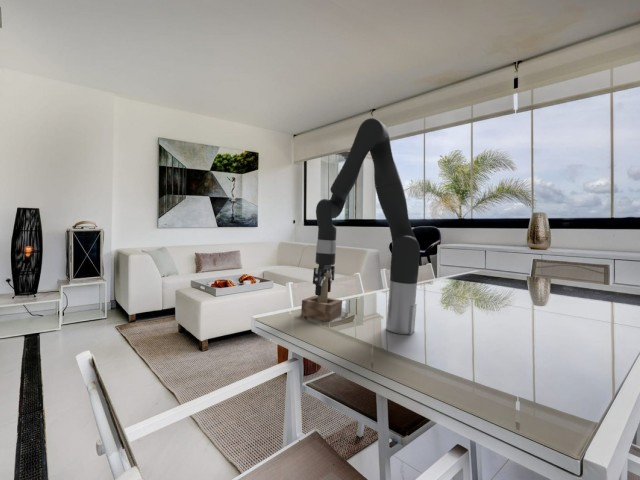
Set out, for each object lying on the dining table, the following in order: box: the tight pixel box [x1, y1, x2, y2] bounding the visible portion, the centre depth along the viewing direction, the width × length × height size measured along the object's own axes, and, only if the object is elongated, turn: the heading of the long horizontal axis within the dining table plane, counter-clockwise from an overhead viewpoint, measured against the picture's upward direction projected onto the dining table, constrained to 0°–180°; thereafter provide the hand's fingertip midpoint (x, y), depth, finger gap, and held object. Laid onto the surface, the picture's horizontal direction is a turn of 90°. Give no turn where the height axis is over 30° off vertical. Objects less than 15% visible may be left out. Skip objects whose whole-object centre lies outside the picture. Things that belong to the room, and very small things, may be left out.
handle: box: [316, 272, 332, 303], centre depth 128 cm, size 5×6×15 cm
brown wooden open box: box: [300, 295, 343, 322], centre depth 129 cm, size 12×11×6 cm
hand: (323, 293), depth 128 cm, fingers open, 8 cm apart
